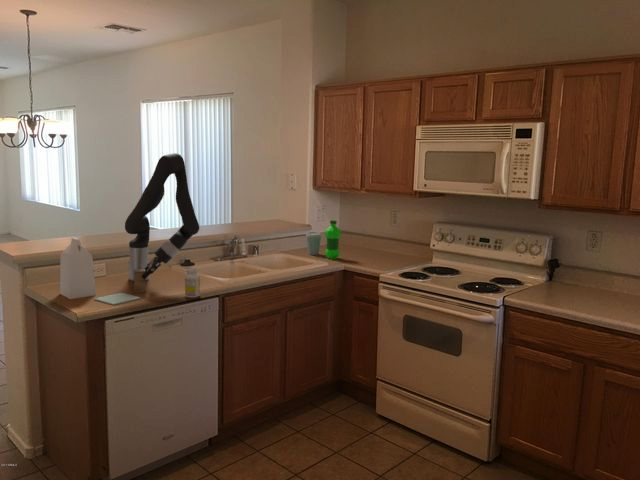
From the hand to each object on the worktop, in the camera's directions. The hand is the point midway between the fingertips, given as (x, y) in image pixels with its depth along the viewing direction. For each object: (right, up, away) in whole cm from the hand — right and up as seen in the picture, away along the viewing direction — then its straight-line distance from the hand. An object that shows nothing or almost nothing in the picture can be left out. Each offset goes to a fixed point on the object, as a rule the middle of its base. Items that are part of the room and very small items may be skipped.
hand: (142, 276), depth 255 cm
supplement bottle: (+25, -9, -6) cm, 28 cm away
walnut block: (-1, -7, +1) cm, 7 cm away
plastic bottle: (+93, +5, +98) cm, 135 cm away
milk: (-27, -8, -9) cm, 29 cm away
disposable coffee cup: (+80, +7, +112) cm, 137 cm away
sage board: (-6, -9, -15) cm, 19 cm away
